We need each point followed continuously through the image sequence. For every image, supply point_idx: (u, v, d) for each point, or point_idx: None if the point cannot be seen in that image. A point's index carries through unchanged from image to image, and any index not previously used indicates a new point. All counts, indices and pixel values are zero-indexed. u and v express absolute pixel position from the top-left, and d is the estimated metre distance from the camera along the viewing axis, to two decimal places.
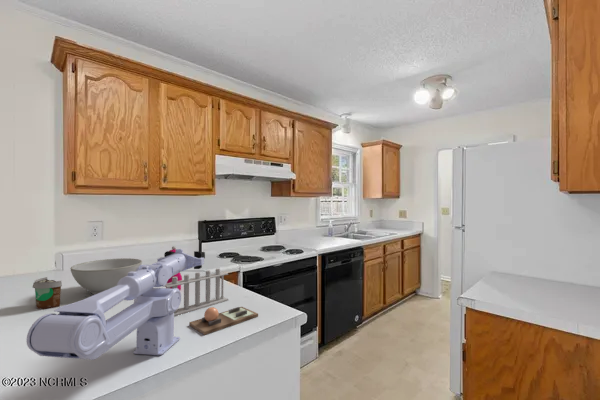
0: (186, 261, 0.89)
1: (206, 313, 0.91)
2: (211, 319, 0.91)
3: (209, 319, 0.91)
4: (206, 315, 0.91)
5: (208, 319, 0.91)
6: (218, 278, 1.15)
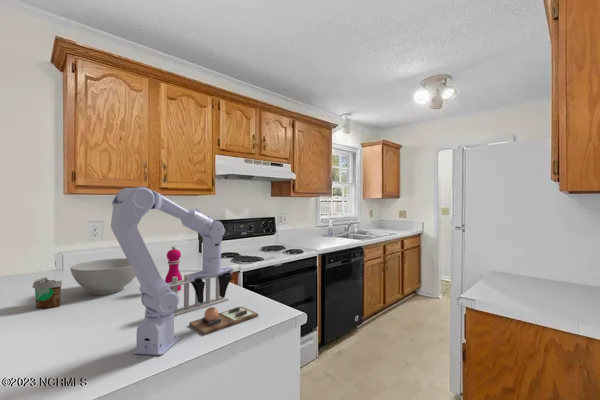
0: None
1: (206, 313, 0.91)
2: (211, 319, 0.91)
3: (209, 319, 0.91)
4: (206, 315, 0.91)
5: (208, 319, 0.91)
6: None
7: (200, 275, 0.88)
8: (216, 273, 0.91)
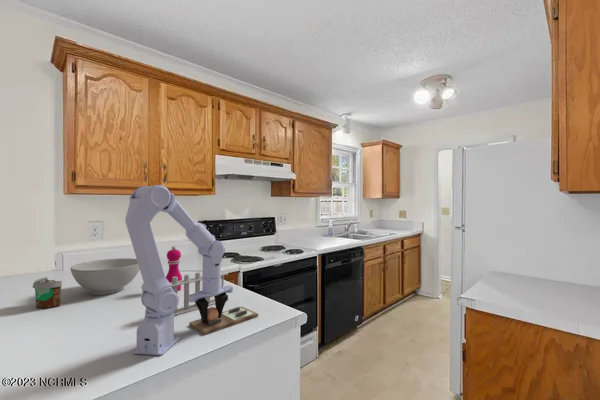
0: None
1: None
2: (211, 319, 0.91)
3: (209, 319, 0.91)
4: None
5: (208, 319, 0.91)
6: None
7: (200, 296, 0.88)
8: (216, 293, 0.91)
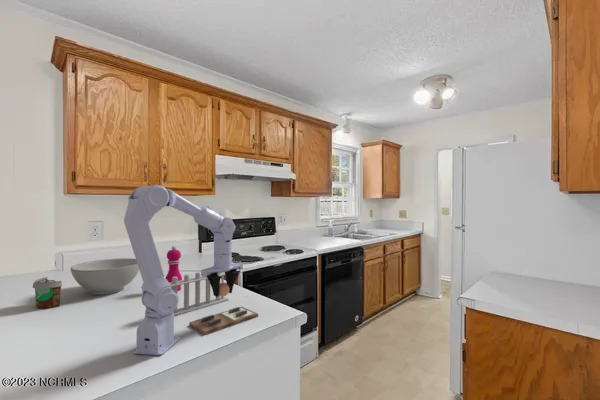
0: None
1: None
2: (223, 293, 0.94)
3: (221, 293, 0.94)
4: None
5: (220, 293, 0.94)
6: None
7: (212, 270, 0.91)
8: (227, 268, 0.94)
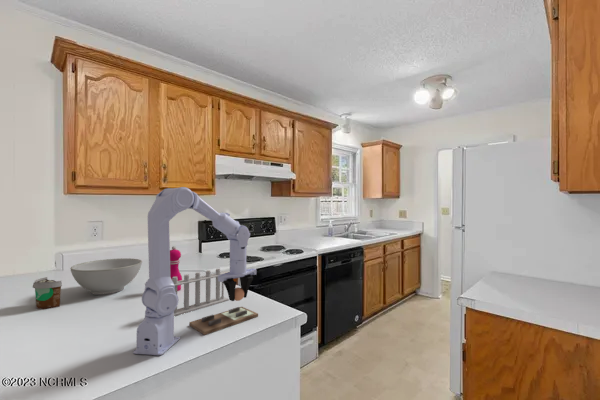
0: None
1: None
2: (238, 298, 0.98)
3: (236, 298, 0.98)
4: None
5: (235, 298, 0.98)
6: None
7: (228, 276, 0.96)
8: (242, 274, 0.98)
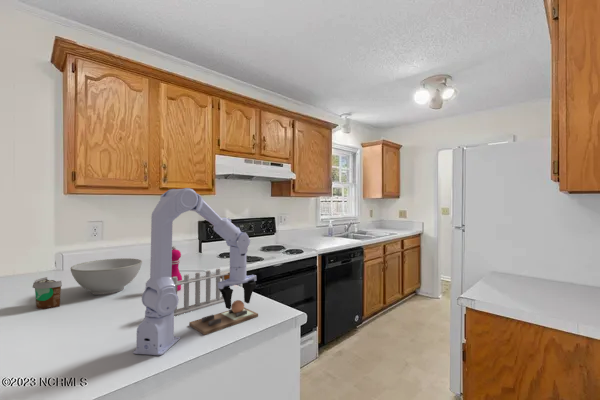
0: None
1: (233, 305, 0.98)
2: (238, 311, 0.98)
3: (236, 311, 0.98)
4: (233, 307, 0.98)
5: (235, 311, 0.98)
6: (218, 278, 1.15)
7: (228, 283, 0.95)
8: (242, 281, 0.98)
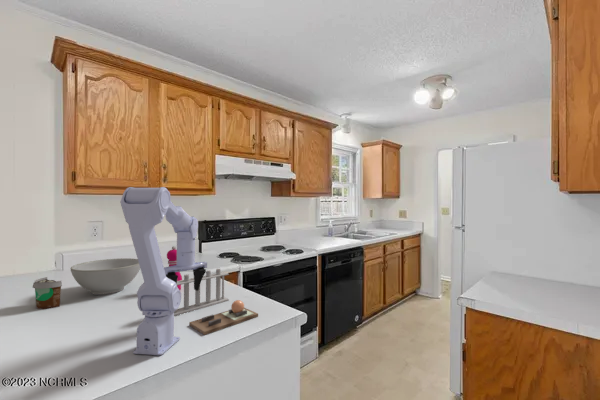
0: None
1: (233, 305, 0.98)
2: (238, 311, 0.98)
3: (236, 311, 0.98)
4: (233, 307, 0.98)
5: (235, 311, 0.98)
6: (218, 278, 1.15)
7: (173, 268, 0.92)
8: (189, 267, 0.94)
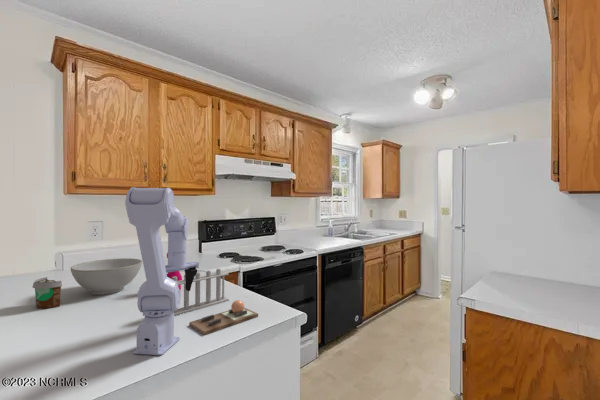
0: None
1: (233, 305, 0.98)
2: (238, 311, 0.98)
3: (236, 311, 0.98)
4: (233, 307, 0.98)
5: (235, 311, 0.98)
6: (219, 278, 1.15)
7: None
8: (180, 267, 0.94)
